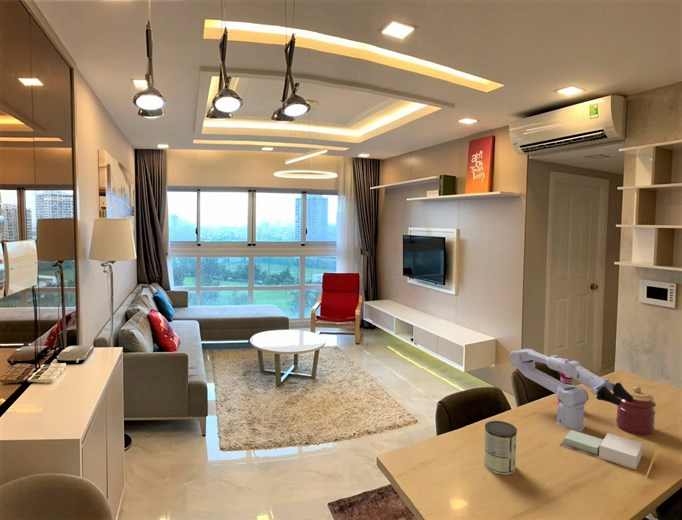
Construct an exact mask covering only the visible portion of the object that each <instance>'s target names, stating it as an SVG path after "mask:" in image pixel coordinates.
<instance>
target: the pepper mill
mask: <svg viewBox="0 0 682 520" xmlns="http://www.w3.org/2000/svg"><path fill="white" fill-rule="evenodd" d="M559 375H560V382H562V383H564V384H567V385H573V384H572V383H574V378H572V377H566V376H565V374H564V373H561V372H559ZM556 398H557V405H558V404H559V402H562V401H561V400H560V399H558V397H557V396H556Z"/></svg>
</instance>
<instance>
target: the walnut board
mask: <svg viewBox="0 0 682 520" xmlns="http://www.w3.org/2000/svg"><path fill="white" fill-rule="evenodd" d="M558 446H559V447H561V448H564V449H567V450H571V451H574V452H577V453H580V454H583V455H586V456H588V457H592V458H595V459H598V460H600V461H604V462H607V463H610V464H613V465H616V466H620V467H621V468H624V469H625V468H626V469H629V470H632V471H634V472H635V471H636V470H635V469H632V468H629V467H626V466H623V465H620V464H617V463H614V462H611V461H607V460H604V459H601V458H599V452H598V454H594V453H591V452H587V451H584V450H581V449H578V448H575V447H572V446H569V445H566V444H564V439H563V440H562V441H561V443H560V444H559V445H558ZM642 456H643V453H642ZM639 463H640V462H639ZM639 463H638V465H639Z"/></svg>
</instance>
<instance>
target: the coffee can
mask: <svg viewBox="0 0 682 520" xmlns="http://www.w3.org/2000/svg"><path fill="white" fill-rule="evenodd" d="M484 429H485V430H484V457H483V458H484V459H483V460H484V462H483V465H484V467H485V468H486V470H488V471H489V472H490V473H493V474H497V475H502V476H507V475H512V474H513V473H515V471H516V459H517V457H516V456H517V452H516V451H517V433H518V428H517V427H516V426H515V425H513V424H512V423H509V422H505V421H502V420H491V421H488V422H486V423H485V424H484Z"/></svg>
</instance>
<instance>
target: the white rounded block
mask: <svg viewBox="0 0 682 520" xmlns="http://www.w3.org/2000/svg"><path fill="white" fill-rule="evenodd" d="M602 439H603V441H602V443H601V444H600V448H599V458H601V459H604V460H607V461H611V462H614V463H617V464H620V465H623V466H626V467H629V468H632V469H635V471H636V470H637V467H638V466H639V464H638V463H640V461H641V458H642V456H643V455H642V454H643V449H644V448H643V447H644V446H643V445H644V443H643V442H640V441H637V440H634V439H630V438H626V437H623V436H620V435H616V434H613V433H609V432H607V434H606V435H605V437H604V438H602ZM601 459H600V460H601ZM604 460H603V461H604ZM607 461H606V462H607Z"/></svg>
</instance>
